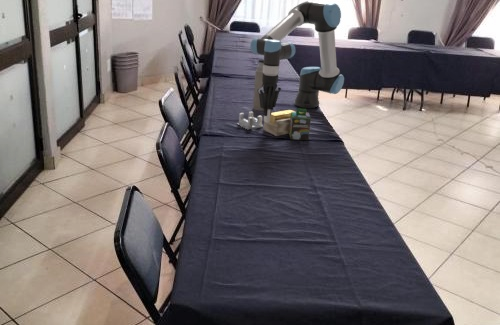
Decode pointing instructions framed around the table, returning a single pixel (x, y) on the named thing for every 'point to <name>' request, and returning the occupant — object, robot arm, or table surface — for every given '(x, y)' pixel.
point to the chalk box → (299, 125)
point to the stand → (250, 121)
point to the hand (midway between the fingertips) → (266, 121)
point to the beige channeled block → (278, 127)
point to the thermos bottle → (258, 85)
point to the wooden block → (280, 115)
